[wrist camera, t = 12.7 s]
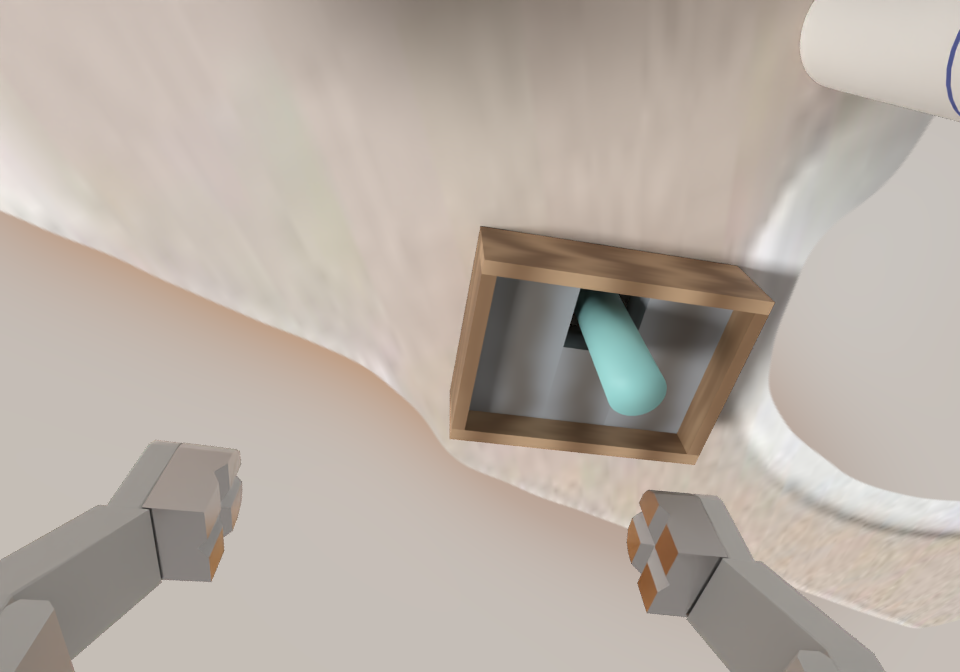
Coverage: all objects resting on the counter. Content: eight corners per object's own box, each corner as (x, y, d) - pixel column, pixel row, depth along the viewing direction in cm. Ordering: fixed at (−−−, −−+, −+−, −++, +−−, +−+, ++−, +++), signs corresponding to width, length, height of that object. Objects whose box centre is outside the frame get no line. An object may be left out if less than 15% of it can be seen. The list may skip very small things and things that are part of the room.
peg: (578, 276, 44) (617, 364, 33) (623, 283, 44) (675, 372, 34) (566, 317, 45) (600, 412, 35) (610, 323, 46) (655, 418, 36)
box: (449, 391, 49) (449, 438, 44) (480, 226, 41) (484, 259, 36) (670, 417, 51) (694, 464, 46) (737, 265, 44) (775, 302, 39)
